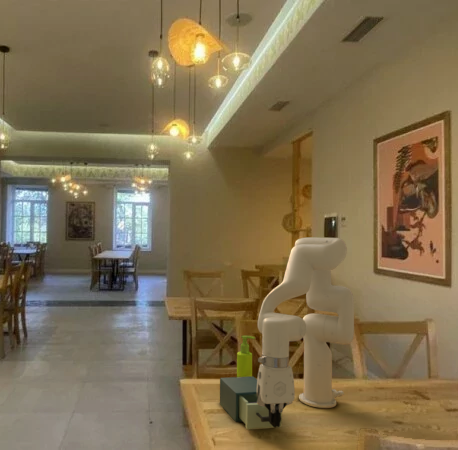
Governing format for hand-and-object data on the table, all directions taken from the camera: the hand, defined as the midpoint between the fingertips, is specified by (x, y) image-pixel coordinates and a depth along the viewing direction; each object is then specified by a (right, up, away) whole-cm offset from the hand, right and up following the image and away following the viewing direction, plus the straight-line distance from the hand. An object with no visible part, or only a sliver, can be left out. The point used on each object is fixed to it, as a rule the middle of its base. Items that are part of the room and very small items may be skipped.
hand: (274, 424), depth 120 cm
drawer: (-2, -4, +10) cm, 11 cm away
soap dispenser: (+1, -6, +44) cm, 44 cm away
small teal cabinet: (-4, -5, +21) cm, 22 cm away
